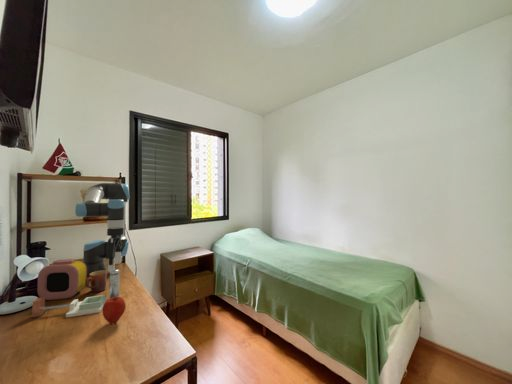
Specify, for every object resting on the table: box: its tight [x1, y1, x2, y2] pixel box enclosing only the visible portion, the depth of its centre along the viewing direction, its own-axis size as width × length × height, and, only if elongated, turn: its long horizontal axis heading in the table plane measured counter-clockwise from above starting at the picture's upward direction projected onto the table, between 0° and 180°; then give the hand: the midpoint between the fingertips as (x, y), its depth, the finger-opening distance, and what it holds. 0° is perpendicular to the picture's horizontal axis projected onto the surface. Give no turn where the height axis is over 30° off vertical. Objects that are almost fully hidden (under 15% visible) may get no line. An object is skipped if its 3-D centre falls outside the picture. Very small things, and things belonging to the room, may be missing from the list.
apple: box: [102, 296, 126, 325], centre depth 93 cm, size 9×8×11 cm
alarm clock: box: [36, 258, 87, 301], centre depth 118 cm, size 18×11×19 cm, turn 102°
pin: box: [31, 297, 78, 318], centre depth 100 cm, size 4×16×7 cm, turn 111°
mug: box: [85, 270, 109, 294], centre depth 123 cm, size 12×9×10 cm
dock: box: [65, 294, 108, 318], centre depth 105 cm, size 12×13×4 cm
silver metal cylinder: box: [108, 268, 120, 299], centre depth 115 cm, size 4×4×15 cm
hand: (114, 267), depth 115 cm, fingers open, 13 cm apart
